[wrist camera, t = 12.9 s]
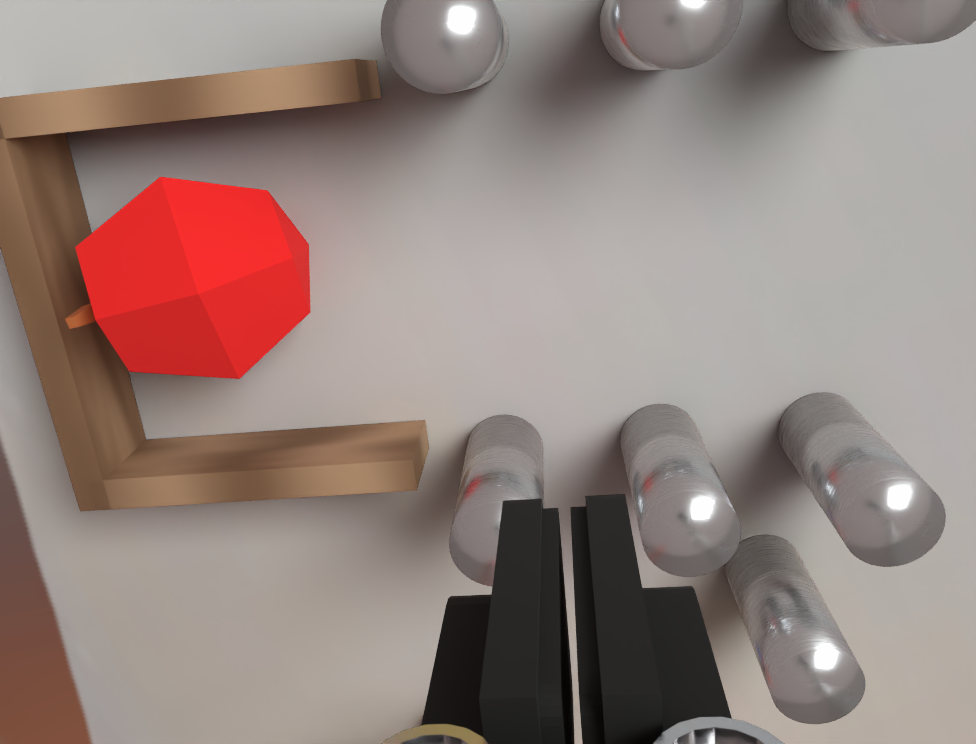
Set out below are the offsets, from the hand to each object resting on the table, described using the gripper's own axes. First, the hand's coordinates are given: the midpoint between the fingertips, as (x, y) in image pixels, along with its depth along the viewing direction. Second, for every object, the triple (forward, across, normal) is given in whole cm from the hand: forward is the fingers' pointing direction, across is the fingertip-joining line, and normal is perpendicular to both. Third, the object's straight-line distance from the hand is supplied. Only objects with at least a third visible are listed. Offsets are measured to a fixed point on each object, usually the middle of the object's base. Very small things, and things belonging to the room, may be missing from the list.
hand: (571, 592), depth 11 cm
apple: (+20, +12, -2) cm, 23 cm away
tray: (+20, +12, -1) cm, 23 cm away
